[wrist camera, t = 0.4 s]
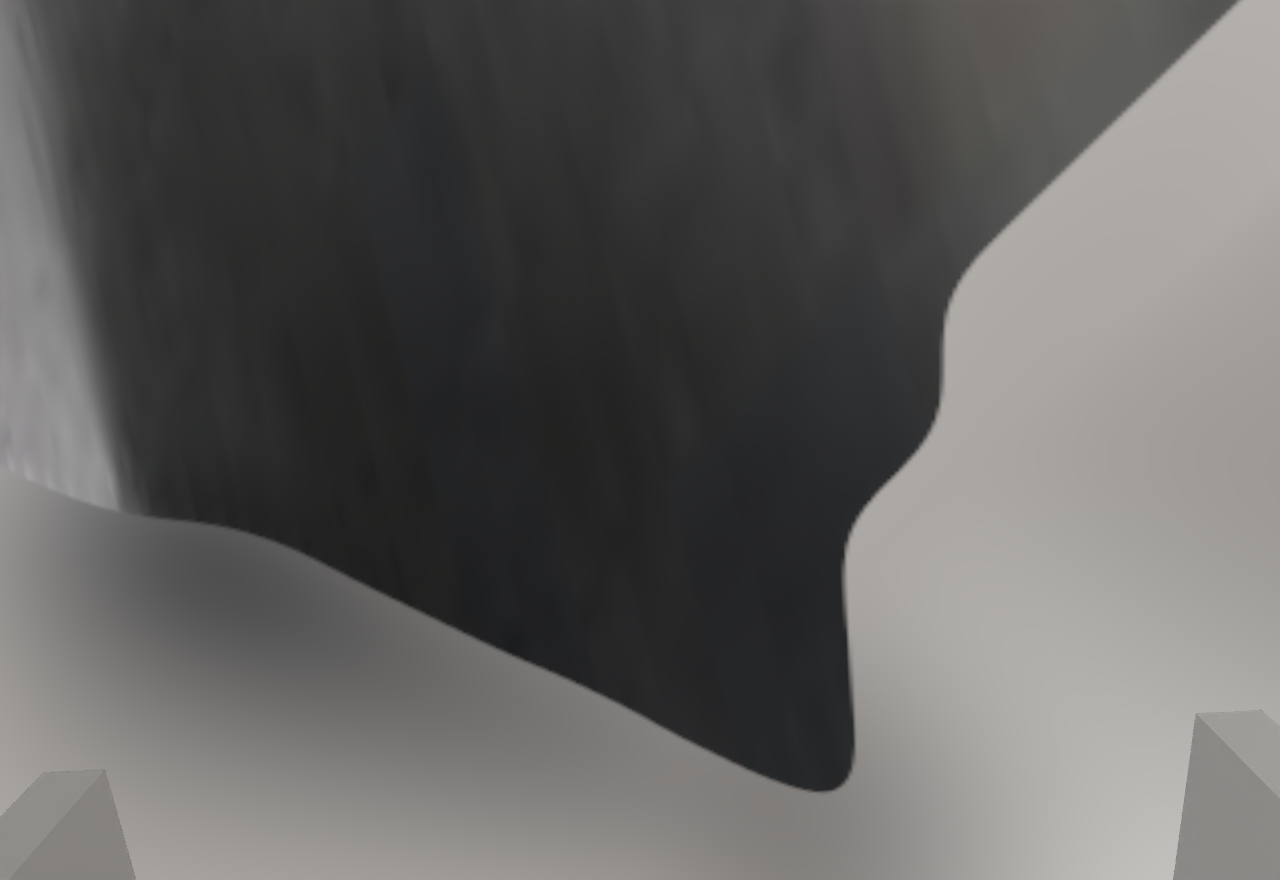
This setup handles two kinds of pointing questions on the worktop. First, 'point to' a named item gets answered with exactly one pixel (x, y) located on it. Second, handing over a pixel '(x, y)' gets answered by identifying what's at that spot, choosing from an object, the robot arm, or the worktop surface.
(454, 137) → the worktop surface
